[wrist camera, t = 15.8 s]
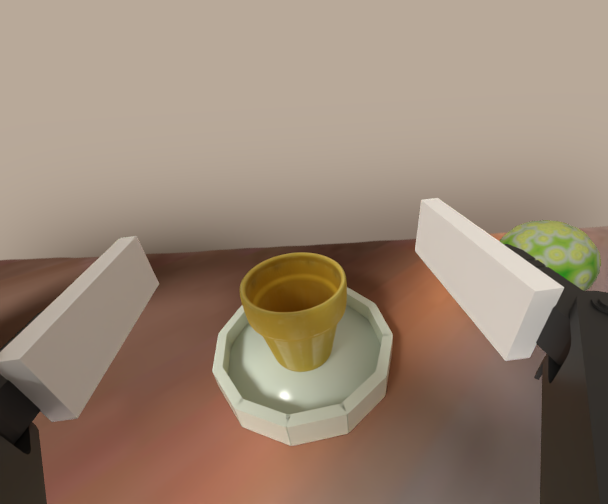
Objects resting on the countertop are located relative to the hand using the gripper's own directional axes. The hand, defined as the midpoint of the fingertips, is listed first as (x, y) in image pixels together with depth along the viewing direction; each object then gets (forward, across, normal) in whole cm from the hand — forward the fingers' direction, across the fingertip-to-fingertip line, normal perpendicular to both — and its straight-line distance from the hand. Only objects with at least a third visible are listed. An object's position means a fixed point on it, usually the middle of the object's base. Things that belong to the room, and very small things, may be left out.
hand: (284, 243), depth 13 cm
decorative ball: (+14, +30, -20) cm, 39 cm away
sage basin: (+10, 0, -20) cm, 23 cm away
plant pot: (+10, 0, -20) cm, 22 cm away
